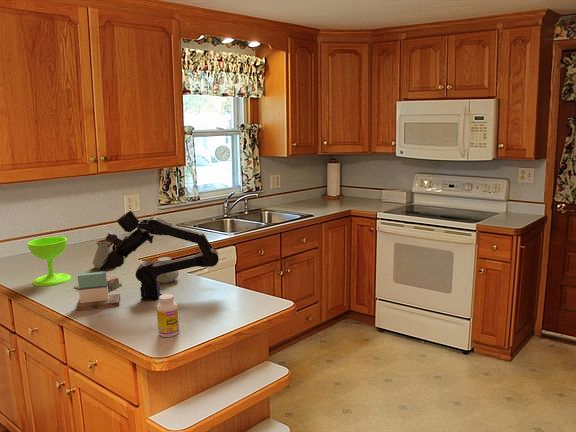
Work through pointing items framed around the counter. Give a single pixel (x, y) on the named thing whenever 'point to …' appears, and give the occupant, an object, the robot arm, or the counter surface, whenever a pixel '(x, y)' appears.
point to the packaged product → (110, 283)
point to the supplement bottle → (167, 316)
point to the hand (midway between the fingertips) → (101, 266)
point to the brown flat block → (100, 303)
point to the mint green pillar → (92, 279)
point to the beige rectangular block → (93, 294)
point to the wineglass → (49, 259)
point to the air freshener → (167, 276)
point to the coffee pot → (101, 252)
